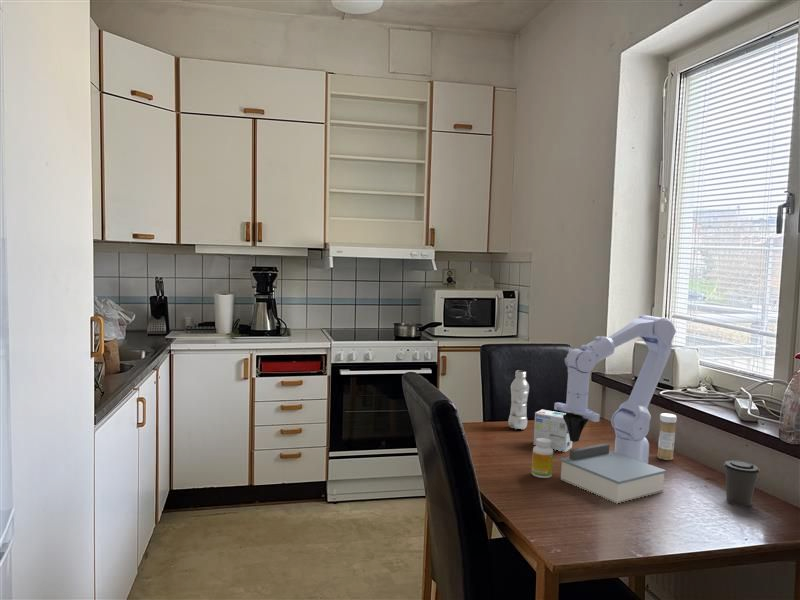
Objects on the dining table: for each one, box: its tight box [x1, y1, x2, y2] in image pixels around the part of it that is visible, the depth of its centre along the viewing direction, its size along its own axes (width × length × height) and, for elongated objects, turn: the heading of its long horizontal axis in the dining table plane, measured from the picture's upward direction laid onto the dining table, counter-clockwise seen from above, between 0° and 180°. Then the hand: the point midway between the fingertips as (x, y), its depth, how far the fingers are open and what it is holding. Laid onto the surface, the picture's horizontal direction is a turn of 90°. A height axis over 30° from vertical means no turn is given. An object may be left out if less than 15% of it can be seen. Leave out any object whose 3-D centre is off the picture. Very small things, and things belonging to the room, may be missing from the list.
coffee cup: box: [723, 459, 761, 507], centre depth 154 cm, size 8×8×10 cm
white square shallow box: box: [560, 461, 665, 505], centre depth 161 cm, size 18×18×5 cm
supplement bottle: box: [531, 438, 554, 479], centre depth 167 cm, size 5×5×10 cm
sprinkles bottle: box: [657, 412, 678, 461], centre depth 186 cm, size 5×5×13 cm
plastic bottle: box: [508, 370, 530, 430], centre depth 211 cm, size 6×7×20 cm
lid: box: [559, 442, 667, 484], centre depth 161 cm, size 19×19×3 cm
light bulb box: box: [532, 408, 573, 453], centre depth 193 cm, size 11×7×11 cm, turn 58°
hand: (574, 440), depth 171 cm, fingers closed
